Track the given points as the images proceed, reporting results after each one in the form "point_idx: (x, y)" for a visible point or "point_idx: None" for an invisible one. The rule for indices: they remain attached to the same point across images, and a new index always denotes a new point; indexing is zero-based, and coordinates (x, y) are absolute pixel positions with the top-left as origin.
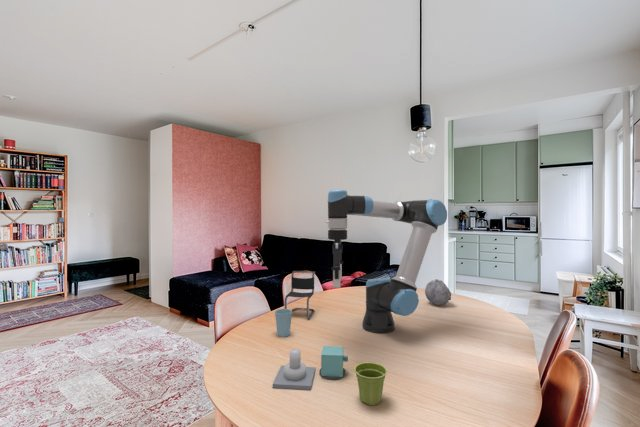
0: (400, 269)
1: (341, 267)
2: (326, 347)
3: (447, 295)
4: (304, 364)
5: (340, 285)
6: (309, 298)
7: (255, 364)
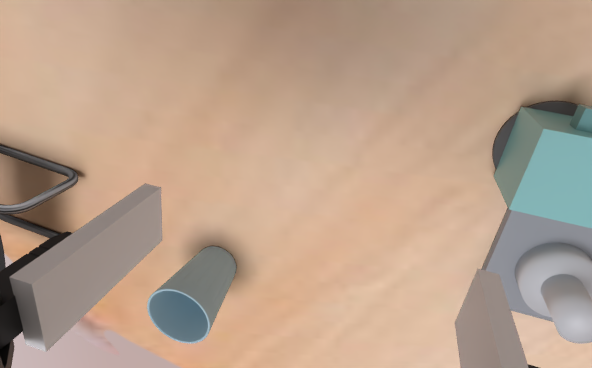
0: None
1: (68, 258)
2: (530, 199)
3: None
4: (555, 261)
5: (486, 281)
6: (2, 205)
7: (425, 347)
